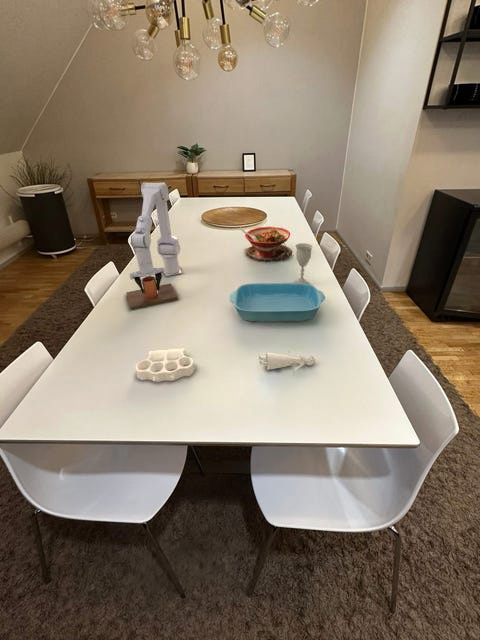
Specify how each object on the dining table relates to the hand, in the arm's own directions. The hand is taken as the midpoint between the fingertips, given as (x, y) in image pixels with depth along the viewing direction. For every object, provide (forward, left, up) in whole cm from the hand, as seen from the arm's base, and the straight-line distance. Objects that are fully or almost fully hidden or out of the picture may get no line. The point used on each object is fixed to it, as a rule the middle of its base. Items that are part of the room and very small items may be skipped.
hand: (150, 290), depth 149 cm
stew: (-21, +65, -3) cm, 68 cm away
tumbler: (0, 0, -2) cm, 2 cm away
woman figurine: (+64, +32, -3) cm, 72 cm away
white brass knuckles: (+50, -4, -3) cm, 50 cm away
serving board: (0, 0, -3) cm, 3 cm away
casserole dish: (+33, +44, -3) cm, 55 cm away
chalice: (+17, +65, -3) cm, 67 cm away
